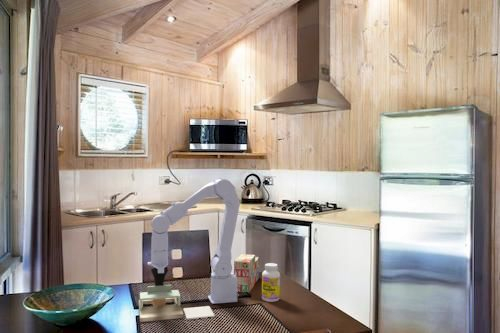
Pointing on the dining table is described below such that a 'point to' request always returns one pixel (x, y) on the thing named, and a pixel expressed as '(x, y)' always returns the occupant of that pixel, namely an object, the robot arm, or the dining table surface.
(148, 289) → the sliding cover
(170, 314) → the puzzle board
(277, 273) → the supplement bottle
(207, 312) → the tile
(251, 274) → the printed cardboard box
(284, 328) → the dining table surface
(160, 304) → the block
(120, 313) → the dining table surface
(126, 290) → the dining table surface
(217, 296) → the robot arm
